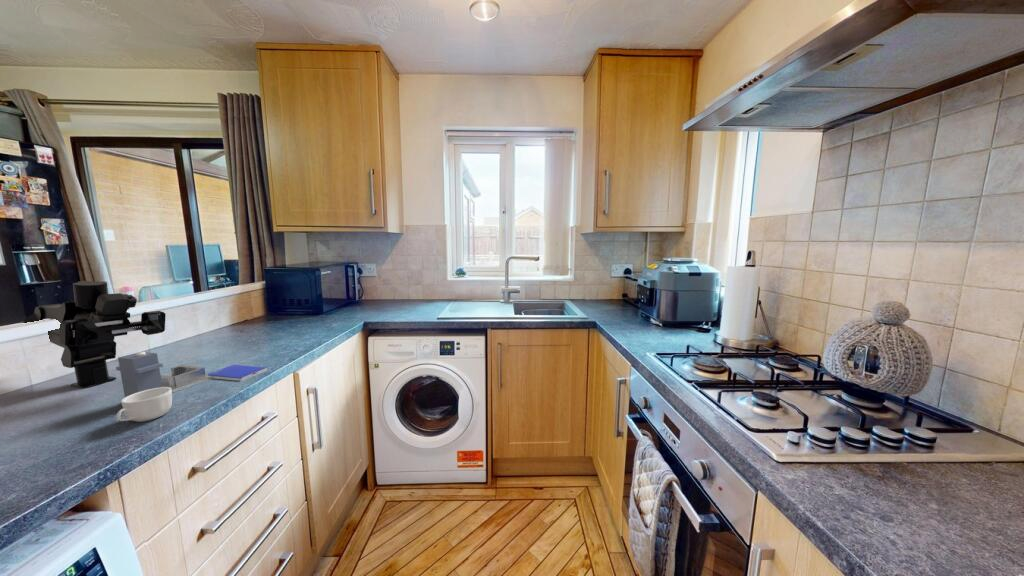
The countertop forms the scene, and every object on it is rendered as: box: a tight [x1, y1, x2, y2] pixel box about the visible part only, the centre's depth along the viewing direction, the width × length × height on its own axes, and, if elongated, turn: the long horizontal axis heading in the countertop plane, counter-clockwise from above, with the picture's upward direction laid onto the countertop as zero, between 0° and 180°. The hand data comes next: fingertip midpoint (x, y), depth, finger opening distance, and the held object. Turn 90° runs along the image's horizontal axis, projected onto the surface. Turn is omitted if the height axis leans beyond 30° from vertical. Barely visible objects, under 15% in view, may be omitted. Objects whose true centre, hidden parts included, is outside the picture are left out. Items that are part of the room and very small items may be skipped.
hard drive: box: [207, 364, 268, 382], centre depth 101 cm, size 2×8×12 cm
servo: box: [115, 351, 164, 398], centre depth 83 cm, size 8×4×13 cm, turn 75°
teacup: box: [116, 387, 173, 423], centre depth 74 cm, size 10×8×5 cm
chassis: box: [160, 364, 214, 394], centre depth 95 cm, size 14×10×3 cm
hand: (138, 334), depth 86 cm, fingers open, 9 cm apart
